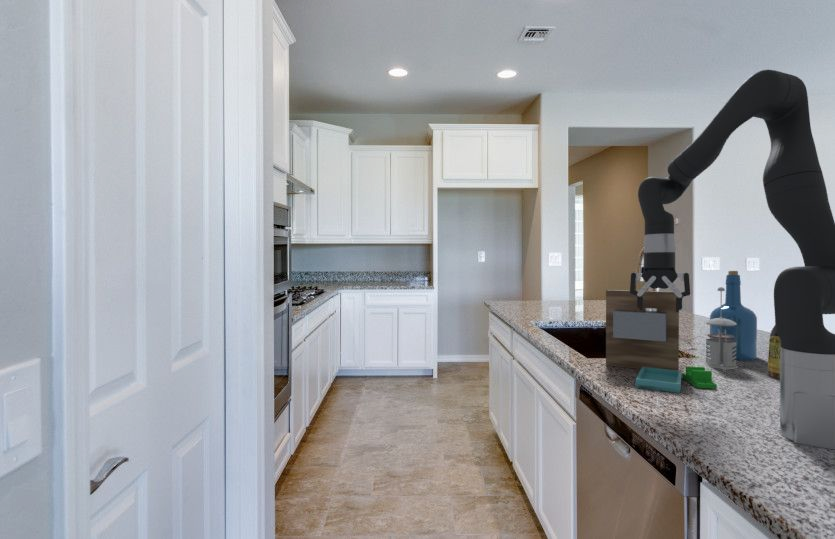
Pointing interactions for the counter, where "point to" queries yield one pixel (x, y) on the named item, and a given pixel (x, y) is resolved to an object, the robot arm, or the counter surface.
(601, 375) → the counter surface
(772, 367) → the sauce bottle
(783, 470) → the counter surface
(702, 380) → the pipe clamp
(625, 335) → the control unit
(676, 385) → the tray
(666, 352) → the board
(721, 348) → the french press
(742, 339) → the wine bottle
